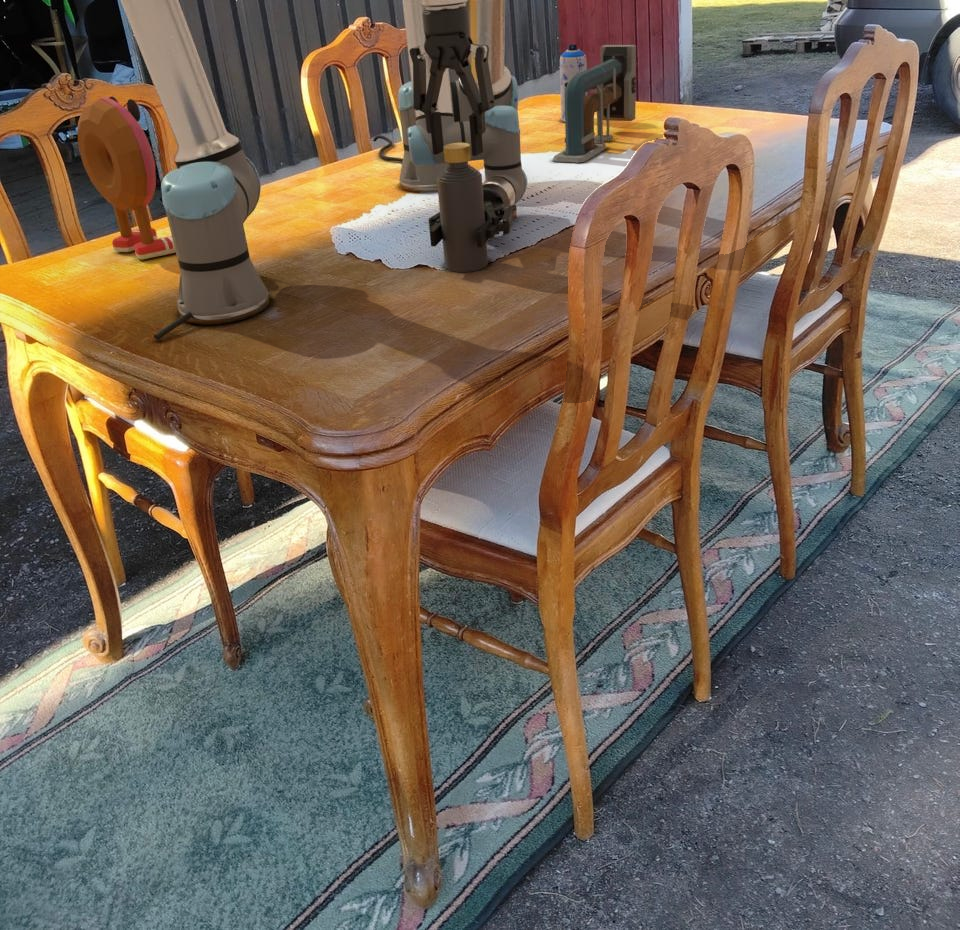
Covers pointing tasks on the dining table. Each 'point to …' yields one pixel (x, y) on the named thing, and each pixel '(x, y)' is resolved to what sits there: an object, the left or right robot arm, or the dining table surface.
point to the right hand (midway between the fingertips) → (455, 239)
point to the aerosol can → (570, 70)
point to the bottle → (461, 217)
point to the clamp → (599, 102)
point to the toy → (122, 171)
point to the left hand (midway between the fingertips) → (458, 152)
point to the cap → (457, 152)
